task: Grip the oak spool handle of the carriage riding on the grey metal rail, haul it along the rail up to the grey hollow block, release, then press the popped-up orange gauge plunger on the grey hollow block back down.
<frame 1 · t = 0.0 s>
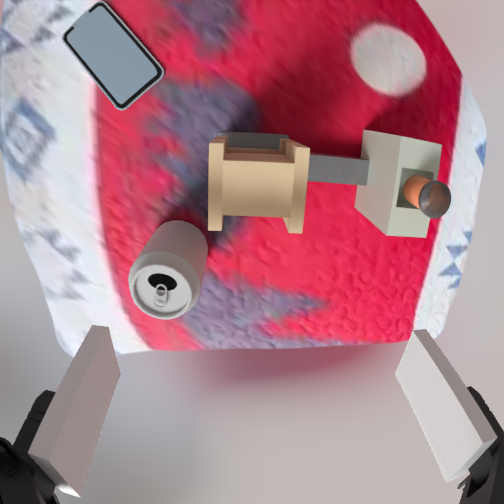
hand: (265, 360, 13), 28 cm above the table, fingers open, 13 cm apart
smartphone: (111, 53, 31), on the table
grey hollow block: (377, 171, 38), on the table
can: (179, 245, 41), on the table
rail: (292, 163, 37), on the table
gauge plunger: (425, 194, 27), point 12 cm above the table, slide at 0.0 cm
carriage: (253, 172, 29), point 8 cm above the table, slide at -5.0 cm
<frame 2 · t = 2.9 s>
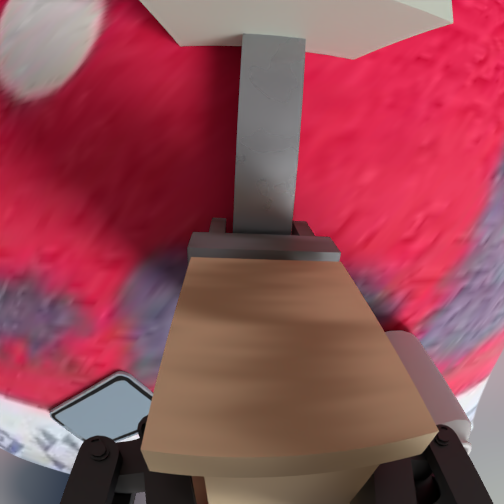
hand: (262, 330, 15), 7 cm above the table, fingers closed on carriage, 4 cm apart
smartphone: (107, 411, 27), on the table
grey hollow block: (271, 10, 14), on the table
can: (377, 357, 25), on the table
rail: (260, 189, 19), on the table
carriage: (264, 352, 13), point 8 cm above the table, slide at -5.0 cm, touching gripper
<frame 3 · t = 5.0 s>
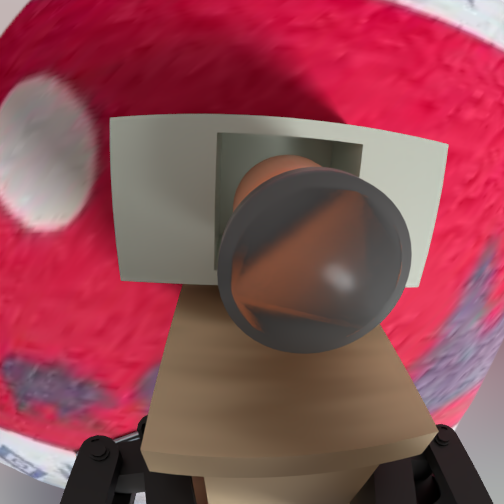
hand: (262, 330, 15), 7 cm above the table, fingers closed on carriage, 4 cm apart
grey hollow block: (261, 160, 18), on the table
gauge plunger: (300, 233, 7), point 12 cm above the table, slide at 0.0 cm
carriage: (264, 352, 13), point 8 cm above the table, slide at 4.2 cm, touching gripper
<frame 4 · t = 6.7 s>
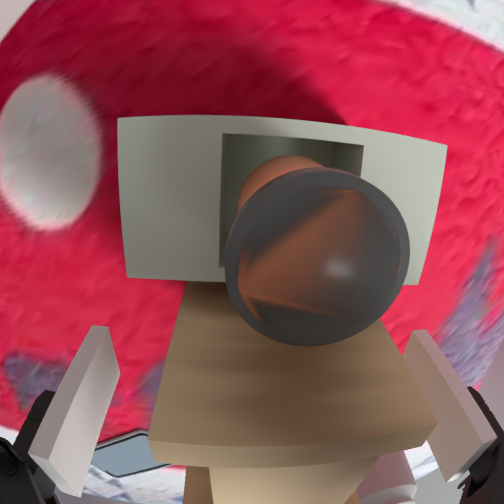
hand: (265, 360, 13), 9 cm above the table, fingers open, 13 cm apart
smartphone: (128, 452, 32), on the table
grey hollow block: (264, 160, 18), on the table
can: (352, 419, 29), on the table
gauge plunger: (303, 231, 7), point 12 cm above the table, slide at 0.0 cm
carriage: (267, 348, 14), point 8 cm above the table, slide at 4.3 cm
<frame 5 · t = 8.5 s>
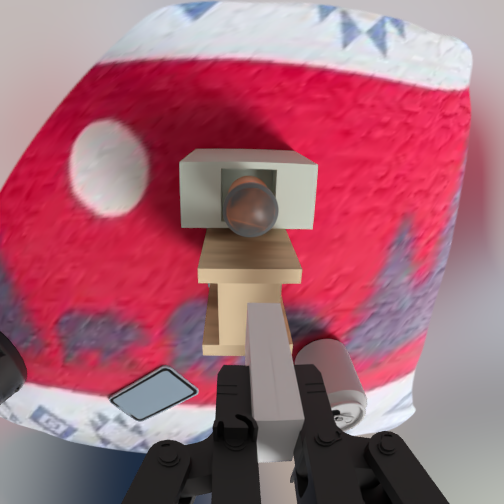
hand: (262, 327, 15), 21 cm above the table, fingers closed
smartphone: (151, 393, 46), on the table
grey hollow block: (244, 172, 32), on the table
can: (319, 354, 43), on the table
gauge plunger: (249, 202, 22), point 12 cm above the table, slide at 0.0 cm
carriage: (245, 267, 28), point 8 cm above the table, slide at 4.3 cm
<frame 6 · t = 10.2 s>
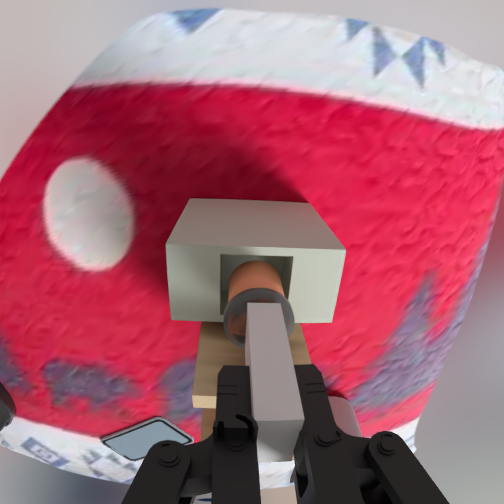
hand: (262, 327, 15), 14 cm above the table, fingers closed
smartphone: (145, 437, 41), on the table
grey hollow block: (248, 228, 28), on the table
can: (322, 408, 38), on the table
gauge plunger: (256, 302, 17), point 12 cm above the table, slide at 0.4 cm, touching gripper
carriage: (248, 354, 23), point 8 cm above the table, slide at 4.3 cm
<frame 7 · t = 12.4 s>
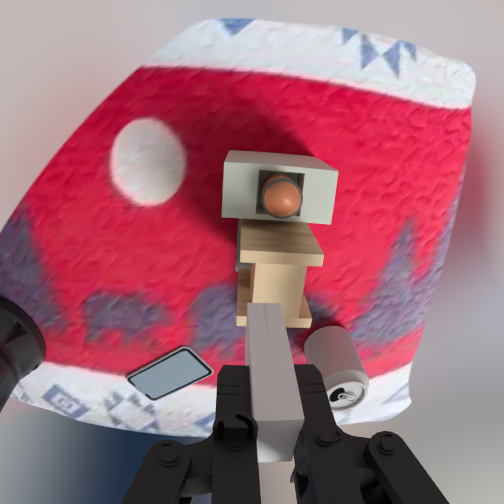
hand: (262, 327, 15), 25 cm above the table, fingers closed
smartphone: (168, 372, 51), on the table
grey hollow block: (271, 173, 37), on the table
can: (326, 340, 48), on the table
gauge plunger: (279, 193, 28), point 10 cm above the table, slide at 2.1 cm
carriage: (271, 255, 32), point 8 cm above the table, slide at 4.3 cm
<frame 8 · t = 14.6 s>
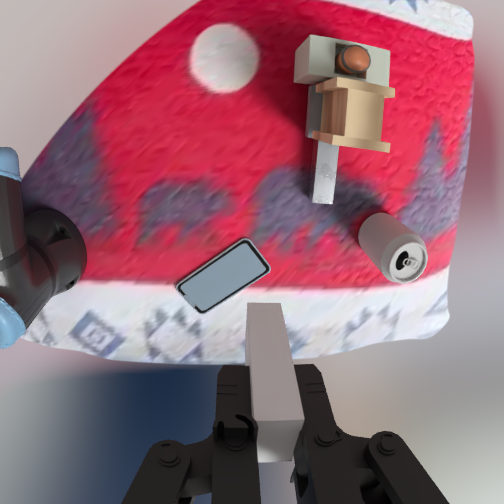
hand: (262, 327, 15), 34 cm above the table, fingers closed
smartphone: (222, 276, 53), on the table
grey hollow block: (328, 71, 40), on the table
can: (376, 232, 51), on the table
rail: (323, 142, 44), on the table
gauge plunger: (351, 60, 31), point 10 cm above the table, slide at 2.1 cm
carriage: (343, 114, 35), point 8 cm above the table, slide at 4.3 cm
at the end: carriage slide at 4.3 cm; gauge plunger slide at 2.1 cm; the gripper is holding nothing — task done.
